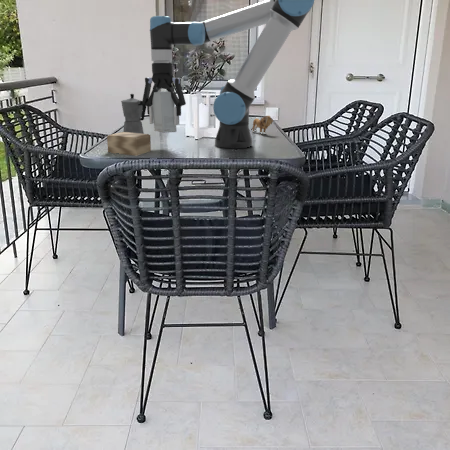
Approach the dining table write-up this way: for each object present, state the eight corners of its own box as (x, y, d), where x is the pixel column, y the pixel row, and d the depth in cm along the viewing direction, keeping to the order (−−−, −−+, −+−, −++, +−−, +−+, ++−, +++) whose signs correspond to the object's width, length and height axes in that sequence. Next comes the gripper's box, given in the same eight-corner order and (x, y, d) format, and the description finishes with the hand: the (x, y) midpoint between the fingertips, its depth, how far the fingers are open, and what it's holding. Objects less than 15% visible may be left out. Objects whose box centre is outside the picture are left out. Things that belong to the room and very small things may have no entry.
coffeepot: (115, 135, 210) (113, 93, 204) (132, 133, 217) (131, 92, 211) (138, 139, 201) (136, 95, 195) (154, 137, 208) (154, 94, 202)
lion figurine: (273, 135, 224) (275, 115, 221) (265, 136, 221) (266, 116, 218) (253, 131, 235) (254, 112, 232) (245, 131, 232) (245, 113, 229)
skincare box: (176, 132, 181) (175, 91, 176) (162, 133, 177) (160, 92, 172) (166, 129, 187) (165, 90, 182) (152, 130, 184) (150, 91, 179)
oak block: (150, 151, 178) (150, 134, 176) (136, 155, 169) (136, 137, 167) (123, 148, 182) (122, 131, 180) (107, 152, 173) (107, 135, 171)
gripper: (194, 62, 174) (195, 124, 181) (140, 62, 181) (143, 121, 188) (185, 62, 167) (187, 126, 174) (129, 62, 175) (133, 124, 182)
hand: (164, 124), depth 181 cm, fingers closed on skincare box, 10 cm apart
